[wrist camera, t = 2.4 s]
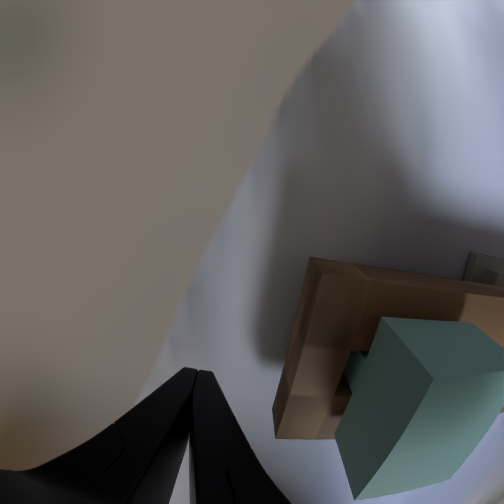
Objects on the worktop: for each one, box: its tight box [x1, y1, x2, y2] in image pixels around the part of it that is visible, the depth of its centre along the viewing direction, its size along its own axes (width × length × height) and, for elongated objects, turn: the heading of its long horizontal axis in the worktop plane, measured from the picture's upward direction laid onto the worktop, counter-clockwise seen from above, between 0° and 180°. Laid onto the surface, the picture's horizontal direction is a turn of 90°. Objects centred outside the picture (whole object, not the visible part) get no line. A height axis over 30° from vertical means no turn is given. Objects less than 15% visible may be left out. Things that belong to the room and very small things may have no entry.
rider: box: [334, 317, 504, 501], centre depth 9 cm, size 5×4×5 cm
